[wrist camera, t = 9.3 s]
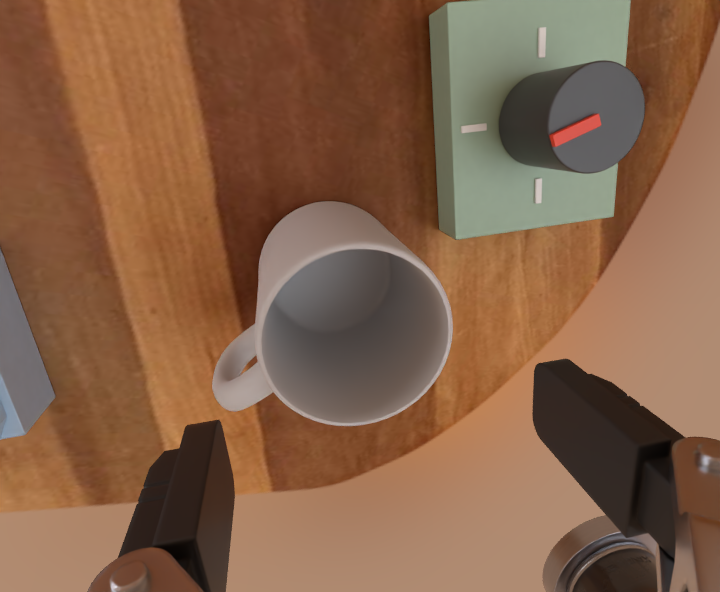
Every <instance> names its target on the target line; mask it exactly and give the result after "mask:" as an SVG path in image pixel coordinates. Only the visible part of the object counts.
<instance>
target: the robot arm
mask: <svg viewBox="0 0 720 592" xmlns="http://www.w3.org/2000/svg"><path fill="white" fill-rule="evenodd" d="M533 422H534V426H535V429H536V432H537V434H538V436H539V437H540V439H541V440H542V441H543V443H544V444H545V445H546V446H547V447H548V448H549V449H550V451H551V452H552V453H553V454H554V455H555V457H556V458H557V459H558V460H559V461H560V462H561V463H562V465H563V466H564V467H565V468H566V469H567V470H568V472H569V473H570V474H571V475H572V476H573V477H574V478H575V480H576V481H577V482H578V483H579V484H580V485H581V486H582V488H583V489H584V490H585V491H586V492H587V493H588V495H589V496H590V497H591V498H592V499H593V500H594V502H595V503H596V504H597V505H598V506H599V507H600V509H602V511H603V512H604V513H605V514H606V515H607V517H608V518H609V519H610V520H611V521H612V522H613V524H614V525H615V526H616V527H617V528H618V529H619V530H620V532H621V533H622V534H623V535H624V536H625V537H626V538H629V537H634V536H638V535H642V534H647V533H649V535H650V536H651V537H652V538H653V539H654V540H655V541H656V542H657V546H656V556H655V555H654V554H653V553H652V552H651V551H650V550H649V549H648V548H647V547H646V546H644V545H642V544H639V543H634V542H622V543H616V544H612V545H609V546H606V547H604V548H602V549H600V550H598V551H596V552H595V553H593V554H592V555H590V556H589V557H588V558H586V559H585V560H584V561H583V562H582V563H581V564H580V565H579V566H578V567H577V569H576V570H575V571H574V573H573V574H572V576H571V578H570V580H569V583H568V586H567V592H720V441H719V440H716V439H711V438H704V437H688V438H685V437H684V436H683V435H681V434H680V433H679V432H677V431H676V430H675V429H673V428H672V427H670V426H669V425H668V424H666V423H665V422H664V421H662V420H661V419H660V418H658V417H657V416H656V415H654V414H653V413H651V412H650V411H649V410H648V409H646V408H645V407H644V406H640V404H639V403H638V402H637V401H636V400H634V399H633V398H632V397H630V396H627V394H626V393H625V392H624V391H622V390H621V389H619V388H618V387H617V386H616V385H614V384H613V383H612V382H609V381H607V380H604V379H602V378H600V377H597V376H595V375H592V374H587V373H586V372H584V371H583V370H582V369H581V368H579V367H578V366H577V365H575V364H574V363H573V362H572V361H570V360H568V359H561V360H556V361H550V362H544V363H539V364H537V365H536V367H535V370H534V390H533ZM234 498H235V492H234V480H233V473H232V468H231V464H230V460H229V455H228V451H227V446H226V442H225V437H224V433H223V428H222V425H221V422H220V421H219V420H214V421H208V422H203V423H197V424H191V425H187V426H186V427H185V430H184V434H183V437H182V441H181V445H180V448H179V449H174V450H168V451H164V452H163V454H162V455H161V456H160V457H159V458H158V459H157V460H156V461H155V463H154V464H153V465H152V466H151V467H150V469H149V472H148V474H147V477H146V480H145V483H144V489H142V491H141V494H140V497H139V500H138V501H139V504H137V505H136V508H135V511H134V514H133V517H132V520H131V522H130V525H129V528H128V531H127V534H126V537H125V540H124V542H123V545H122V548H121V551H120V553H119V556H118V558H117V559H116V560H114V561H113V562H112V563H110V564H109V565H108V566H106V567H105V568H104V569H103V570H102V571H101V572H100V573H99V574H98V575H97V577H96V578H95V579H94V581H93V582H92V583H91V586H90V587H89V589H88V591H87V592H226V582H227V572H228V561H229V551H230V540H231V531H232V520H233V510H234Z"/></svg>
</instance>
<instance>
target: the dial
mask: <svg viewBox="0 0 720 592" xmlns="http://www.w3.org/2000/svg"><path fill="white" fill-rule="evenodd" d="M644 115H645V100H644V94H643V90H642V88H641V85H640V83H639V81H638V79H637V78H636V76H635V75H634V74H633V73H632V72H631V71H630V70H629V69H628V68H626V67H625V66H623V65H621V64H619V63H617V62H613V61H606V60H602V61H594V62H589V63H584V64H579V65H574V66H570V67H565V68H560V69H555V70H550V71H545V72H540V73H536V74H533V75H530V76H528V77H526V78H524V79H523V80H521V81H520V82H519V83H518V84H517V85H515V86H514V88H513V89H512V90H511V91H510V92H509V94H508V96H507V97H506V99H505V101H504V103H503V106H502V108H501V112H500V117H499V133H500V138H501V141H502V144H503V146H504V148H505V150H506V151H507V152H508V154H509V155H510V156H511V157H512V158H513V159H515V160H516V161H518V162H520V163H522V164H524V165H529V166H535V167H541V168H548V169H555V170H562V171H568V172H575V173H582V174H592V173H597V172H601V171H604V170H606V169H608V168H610V167H612V166H614V165H615V164H616V163H618V162H619V161H620V160H621V159H623V158H624V157H625V156H626V154H627V153H628V152H629V151H630V150H631V148H632V147H633V145H634V144H635V142H636V140H637V138H638V136H639V134H640V131H641V128H642V125H643V121H644Z"/></svg>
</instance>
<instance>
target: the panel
mask: <svg viewBox="0 0 720 592" xmlns="http://www.w3.org/2000/svg"><path fill="white" fill-rule="evenodd" d="M630 2H631V0H471V1H459V2H448V3H446V4H445V5H443V6H442V7H441V8H439V9H438V10H436V11H435V12H433V13H432V14H431V15H429V28H430V49H431V70H432V91H433V112H434V133H435V154H436V175H437V196H438V217H439V230H440V231H442V232H444V233H445V234H447V235H449V236H450V237H452V238H454V239H455V240H459V239H466V238H472V237H479V236H486V235H493V234H500V233H506V232H513V231H520V230H527V229H534V228H540V227H547V226H554V225H561V224H567V223H574V222H581V221H588V220H595V219H601V218H608V217H613V216H614V206H615V193H616V180H617V167H618V163H616V164H615V165H614V166H612V167H610V168H608V169H606V170H604V171H601V172H597V173H592V174H582V173H575V172H568V171H562V170H555V169H548V168H541V167H535V166H529V165H524V164H522V163H520V162H518V161H516V160H515V159H513V158H512V157H511V156H510V155H509V154H508V152H507V151H506V150H505V148H504V146H503V144H502V141H501V138H500V133H499V117H500V112H501V108H502V106H503V103H504V101H505V99H506V97H507V96H508V94H509V92H510V91H511V90H512V89H513V88H514V86H515V85H517V84H518V83H519V82H520V81H521V80H523V79H524V78H526V77H528V76H530V75H533V74H536V73H540V72H545V71H550V70H555V69H560V68H565V67H570V66H574V65H579V64H584V63H589V62H594V61H602V60H606V61H613V62H617V63H619V64H621V65H623V66H626V53H627V41H628V28H629V15H630Z"/></svg>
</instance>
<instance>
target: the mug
mask: <svg viewBox="0 0 720 592" xmlns="http://www.w3.org/2000/svg"><path fill="white" fill-rule="evenodd" d="M452 333H453V323H452V313H451V308H450V304H449V301H448V298H447V295H446V293H445V291H444V289H443V287H442V285H441V283H440V281H439V280H438V279H437V277H436V276H435V274H434V273H433V272H432V271H431V270H430V269H429V267H428V266H427V265H426V264H425V263H424V262H423V261H422V260H421V259H420V258H418V257H417V256H416V255H415V254H414V253H413V252H412V251H410V250H409V249H408V248H407V247H406V246H405V245H404V244H403V243H401V242H400V241H399V240H398V239H397V238H396V237H395V236H394V235H392V234H391V233H390V232H389V231H388V230H387V229H386V228H385V227H384V226H383V225H382V224H381V223H380V222H379V221H378V220H377V219H376V218H374V217H373V216H372V215H371V214H369V213H368V212H366V211H364V210H362V209H361V208H358V207H356V206H354V205H351V204H347V203H343V202H336V201H323V202H316V203H312V204H308V205H305V206H303V207H300V208H298V209H296V210H294V211H293V212H291V213H289V214H288V215H287V216H285V217H284V218H283V219H282V220H281V221H280V222H279V223H278V224H277V225H276V226H275V227H274V228H273V230H272V231H271V232H270V234H269V236H268V237H267V239H266V241H265V243H264V246H263V249H262V251H261V256H260V260H259V270H258V295H257V307H256V320H255V324H254V325H252V326H251V327H250V328H248V329H247V330H246V331H244V332H243V333H242V334H240V335H239V336H238V337H237V338H236V339H234V340H233V341H232V342H231V343H230V344H229V345H228V347H227V348H226V349H225V350H224V352H223V353H222V355H221V357H220V359H219V360H218V363H217V365H216V368H215V371H214V376H213V382H212V389H213V392H214V395H215V398H216V400H217V401H218V403H219V404H220V405H221V406H222V407H224V408H225V409H226V410H229V411H235V412H236V411H240V410H243V409H245V408H248V407H250V406H252V405H253V404H255V403H257V402H259V401H260V400H262V399H263V398H265V397H266V396H268V395H270V394H271V393H273V392H274V393H275V395H276V396H277V397H278V398H279V399H280V400H281V401H282V402H283V403H284V404H286V405H287V406H288V407H289V408H291V409H292V410H293V411H295V412H297V413H299V414H300V415H302V416H304V417H306V418H309V419H311V420H314V421H317V422H321V423H324V424H329V425H336V426H357V425H365V424H370V423H375V422H378V421H381V420H384V419H387V418H389V417H391V416H393V415H396V414H398V413H399V412H401V411H403V410H405V409H406V408H408V407H409V406H410V405H412V404H413V403H415V402H416V401H417V400H418V399H419V398H420V397H421V396H423V395H424V394H425V393H426V392H427V390H428V389H429V388H430V387H431V386H432V385H433V383H434V382H435V380H436V379H437V377H438V376H439V374H440V373H441V371H442V369H443V367H444V365H445V363H446V360H447V357H448V354H449V351H450V347H451V342H452ZM256 355H257V360H258V362H257V363H256V364H255V365H254V366H252V367H251V368H250V369H248V370H247V371H246V372H244V373H243V374H241V372H242V371H243V369H244V367H245V366H246V365H247V364H248V362H249V361H250V360H251V359H252V358H253V357H255V356H256ZM240 374H241V375H240Z"/></svg>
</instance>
